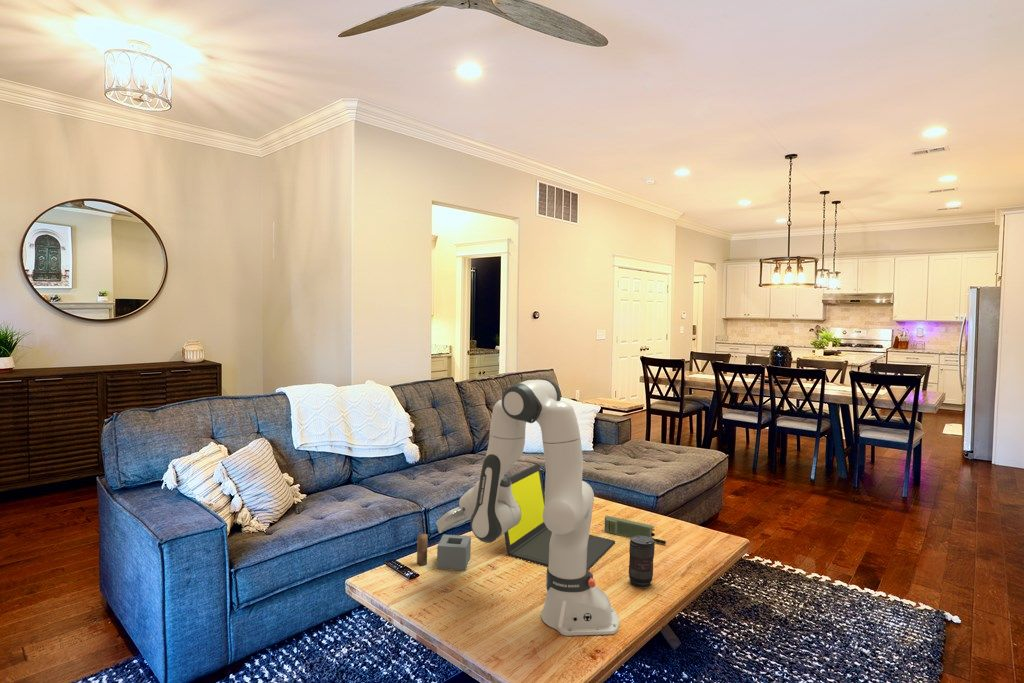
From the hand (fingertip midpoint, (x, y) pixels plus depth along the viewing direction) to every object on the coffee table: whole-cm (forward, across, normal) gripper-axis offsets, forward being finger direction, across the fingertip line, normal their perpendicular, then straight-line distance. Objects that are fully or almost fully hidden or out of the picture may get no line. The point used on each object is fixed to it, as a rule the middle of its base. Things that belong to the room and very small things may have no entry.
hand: (449, 526), depth 190 cm
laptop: (-1, +42, -24) cm, 48 cm away
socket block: (+14, +7, -9) cm, 18 cm away
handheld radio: (-15, +70, -38) cm, 81 cm away
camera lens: (-27, +35, -50) cm, 67 cm away
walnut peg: (+20, 0, -3) cm, 20 cm away
